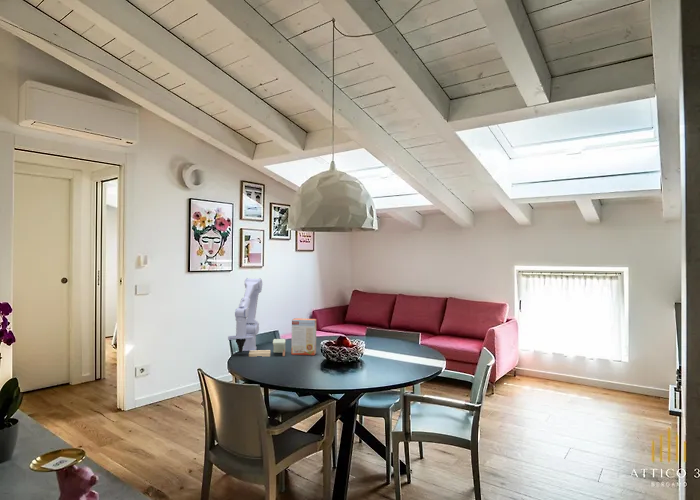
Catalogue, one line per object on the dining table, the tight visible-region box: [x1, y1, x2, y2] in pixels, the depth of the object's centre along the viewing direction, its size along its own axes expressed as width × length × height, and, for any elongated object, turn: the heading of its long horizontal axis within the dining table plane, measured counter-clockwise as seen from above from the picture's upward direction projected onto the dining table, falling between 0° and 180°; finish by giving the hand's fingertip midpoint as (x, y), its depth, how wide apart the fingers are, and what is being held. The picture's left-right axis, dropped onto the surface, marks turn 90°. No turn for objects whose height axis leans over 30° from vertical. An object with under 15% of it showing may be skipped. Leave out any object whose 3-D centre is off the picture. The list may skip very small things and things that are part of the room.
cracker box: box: [290, 317, 317, 356], centre depth 259 cm, size 14×6×21 cm, turn 84°
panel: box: [248, 349, 272, 358], centre depth 254 cm, size 8×12×2 cm, turn 98°
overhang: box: [272, 338, 287, 357], centre depth 257 cm, size 12×7×8 cm, turn 7°
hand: (240, 352), depth 253 cm, fingers closed
